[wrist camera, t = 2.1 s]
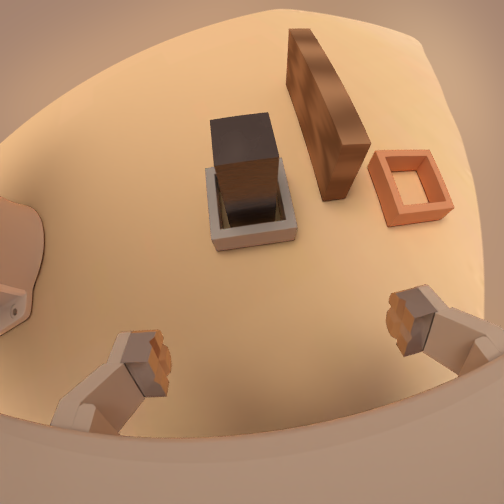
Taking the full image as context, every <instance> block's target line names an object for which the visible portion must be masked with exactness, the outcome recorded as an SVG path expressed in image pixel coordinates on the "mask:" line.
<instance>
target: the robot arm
mask: <svg viewBox="0 0 504 504" xmlns="http://www.w3.org/2000/svg"><path fill="white" fill-rule="evenodd" d="M43 248H44V232H43V226H42V222H41V219H40V217H39V215H38V213H37V212H36V211H35V210H34V209H33V208H32V207H30V206H26V205H21V204H18V203H15V202H12V201H9V200H7V199H5V198H3V197H1V196H0V336H1V335H2V334H4V333H5V332H7V331H9V330H10V329H12V328H13V327H15V326H17V325H18V324H20V323H22V322H23V321H25V320H26V319H28V317H29V316H30V313H31V306H32V291H33V287H34V283H35V280H36V278H37V275H38V272H39V269H40V265H41V261H42V255H43ZM389 304H390V305H391V308H390V309H389V310H388V311H387V315H386V325H387V329H388V332H389V333H390V335H391V337H393V338H395V339H397V343H396V345H397V347H398V348H399V350H400V352H401V353H402V355H403V357H405V356H408V355H412V354H415V353H419V352H422V351H423V353H425V354H426V355H428V356H430V357H431V358H433V359H434V360H436V361H437V362H439V363H440V364H442V365H444V366H445V367H447V368H448V369H450V370H451V371H453V372H454V373H456V374H457V375H458V377H457V378H455V379H453V380H451V381H448V382H446V383H444V384H441V385H439V386H437V387H434V388H432V389H429V390H427V391H424V392H422V393H419V394H416V395H414V396H411V397H408V398H405V399H402V400H400V401H397V402H394V403H391V404H388V405H384V406H381V407H378V408H375V409H371V410H368V411H365V412H361V413H357V414H354V415H350V416H346V417H342V418H338V419H334V420H329V421H325V422H320V423H315V424H310V425H305V426H300V427H294V428H288V429H282V430H275V431H268V432H261V433H252V434H243V435H232V436H218V437H198V438H151V437H131V436H121V435H120V434H119V433H118V432H119V431H120V429H121V428H122V427H123V426H124V424H125V423H126V422H127V421H128V419H129V418H130V417H131V416H132V414H133V413H134V412H135V410H136V409H137V408H138V407H139V405H140V404H141V403H142V402H143V400H144V399H145V398H144V397H166V396H167V393H168V386H169V380H168V378H167V376H168V375H169V374H170V373H171V367H172V363H171V355H170V352H169V349H168V347H167V346H165V345H164V344H163V339H164V337H163V335H162V333H161V331H160V330H142V331H126V332H120V333H119V334H118V335H117V338H116V340H115V343H114V345H113V348H112V350H111V353H110V355H109V358H108V361H107V363H106V364H102V365H101V366H99V367H98V368H97V369H96V370H95V371H94V372H92V373H91V374H90V375H89V376H88V377H86V378H85V379H84V380H83V381H82V382H80V383H79V384H78V385H77V386H76V387H75V388H73V389H72V390H71V391H70V392H69V393H67V394H66V395H65V396H64V397H63V398H62V399H60V401H59V403H58V406H57V408H56V411H55V414H54V416H53V419H52V421H51V424H50V426H49V425H44V424H39V423H35V422H31V421H27V420H23V419H19V418H15V417H12V416H8V415H5V414H1V413H0V504H504V330H503V329H502V328H501V327H500V326H498V325H495V324H493V323H490V322H488V321H485V320H483V319H480V318H478V317H475V316H473V315H470V314H468V313H465V312H463V311H460V310H458V309H455V308H453V307H452V308H449V307H448V306H447V305H446V304H445V303H444V302H443V301H442V300H441V298H440V297H439V296H438V295H437V294H436V293H435V292H434V291H433V290H432V289H431V288H430V287H429V286H428V285H426V284H424V285H421V286H417V287H414V288H411V289H407V290H402V291H398V292H394V293H391V295H390V297H389Z"/></svg>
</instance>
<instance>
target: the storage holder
mask: <svg viewBox="0 0 504 504" xmlns="http://www.w3.org/2000/svg"><path fill="white" fill-rule="evenodd" d="M205 173H206V186H207V198H208V209H209V220H210V231H211V240H212V242H213V244H214V246H215V249H216V251H221V250H228V249H235V248H242V247H249V246H256V245H262V244H269V243H276V242H283V241H290V240H294V238H295V235H296V231H297V223H296V218H295V214H294V209H293V204H292V200H291V195H290V191H289V187H288V182H287V178H286V174H285V170H284V165H283V161H282V158H279V168H278V183H277V200H278V205H279V210H280V215H281V220H282V221H275V222H268V223H261V224H254V225H247V226H240V227H233V228H227V229H223V225H222V217H221V207H220V198H219V190H220V186H219V183H218V179H217V175H216V171H215V168H214V167H211V168H205Z"/></svg>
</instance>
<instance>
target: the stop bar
mask: <svg viewBox="0 0 504 504" xmlns="http://www.w3.org/2000/svg"><path fill="white" fill-rule="evenodd" d="M210 126H211V137H212V149H213V160H214V168H215V171H216V175H217V179H218V183H219V186H220V190H221V194H222V198H223V201H224V205H225V209H226V213H227V216H228V220H229V224H230V227H231V228H233V227H240V226H247V225H254V224H261V223H268V222H275V210H276V197H277V183H278V168H279V154H278V150H277V146H276V141H275V137H274V133H273V129H272V125H271V122H270V118H269V114H268V112H267V113H258V114H249V115H241V116H234V117H227V118H221V119H214V120H210Z"/></svg>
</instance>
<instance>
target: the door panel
mask: <svg viewBox="0 0 504 504" xmlns="http://www.w3.org/2000/svg"><path fill="white" fill-rule="evenodd" d="M286 86H287V88H288V91H289V94H290V97H291V100H292V102H293V105H294V108H295V111H296V114H297V117H298V120H299V123H300V126H301V129H302V132H303V136H304V139H305V142H306V145H307V148H308V152H309V155H310V158H311V161H312V165H313V168H314V172H315V175H316V179H317V182H318V186H319V189H320V193H321V197H322V200H323V201H326V200H334V199H343V198H345V197H346V195H347V193H348V191H349V189H350V187H351V185H352V183H353V181H354V179H355V177H356V175H357V173H358V171H359V169H360V167H361V164H362V162H363V160H364V158H365V156H366V154H367V152H368V150H369V147H370V145H371V142H370V139H369V137H368V135H367V133H366V130H365V128H364V126H363V124H362V122H361V120H360V118H359V115H358V113H357V111H356V109H355V107H354V105H353V103H352V101H351V99H350V97H349V95H348V93H347V92H346V90H345V88H344V86H343V84H342V82H341V80H340V78H339V77H338V75H337V73H336V71H335V69H334V68H333V66H332V64H331V62H330V61H329V59H328V57H327V56H326V54H325V52H324V51H323V49H322V47H321V46H320V44H319V43H318V41H317V39H316V38H315V36H314V35H313V33H312V32H311V30H310V29H289V39H288V58H287V75H286Z"/></svg>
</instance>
